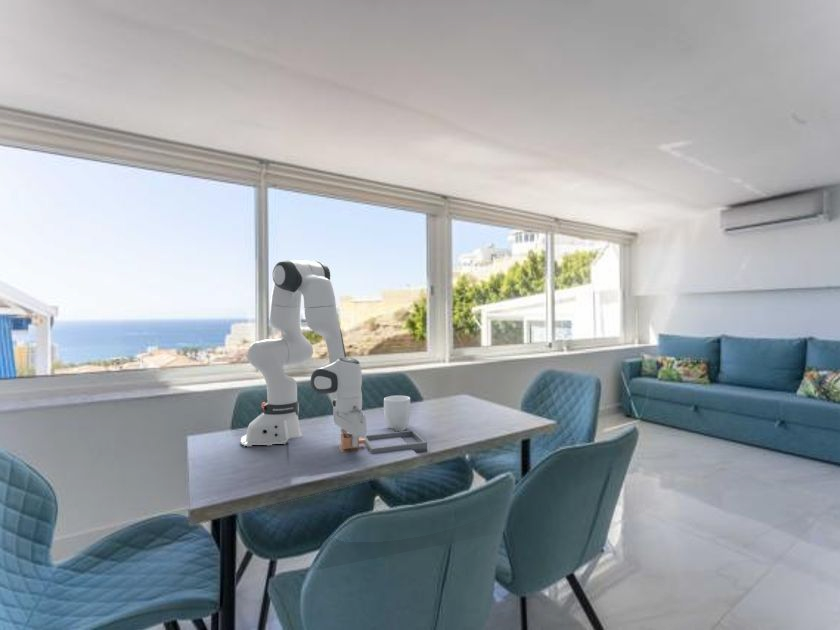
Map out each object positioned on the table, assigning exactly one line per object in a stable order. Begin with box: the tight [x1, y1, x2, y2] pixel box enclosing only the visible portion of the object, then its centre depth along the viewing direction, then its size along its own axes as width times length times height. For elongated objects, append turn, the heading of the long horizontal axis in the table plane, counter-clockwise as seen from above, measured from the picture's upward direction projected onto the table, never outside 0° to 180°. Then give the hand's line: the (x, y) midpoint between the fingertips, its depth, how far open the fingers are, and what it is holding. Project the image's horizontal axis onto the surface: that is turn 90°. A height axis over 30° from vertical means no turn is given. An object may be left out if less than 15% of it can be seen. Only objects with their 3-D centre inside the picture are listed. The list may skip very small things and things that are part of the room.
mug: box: [383, 395, 411, 432], centre depth 179 cm, size 15×11×13 cm
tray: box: [361, 429, 428, 454], centre depth 155 cm, size 20×16×3 cm
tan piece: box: [340, 432, 365, 449], centre depth 150 cm, size 8×6×4 cm
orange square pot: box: [338, 434, 362, 453], centre depth 150 cm, size 7×7×6 cm
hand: (349, 443), depth 150 cm, fingers closed on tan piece, 6 cm apart
